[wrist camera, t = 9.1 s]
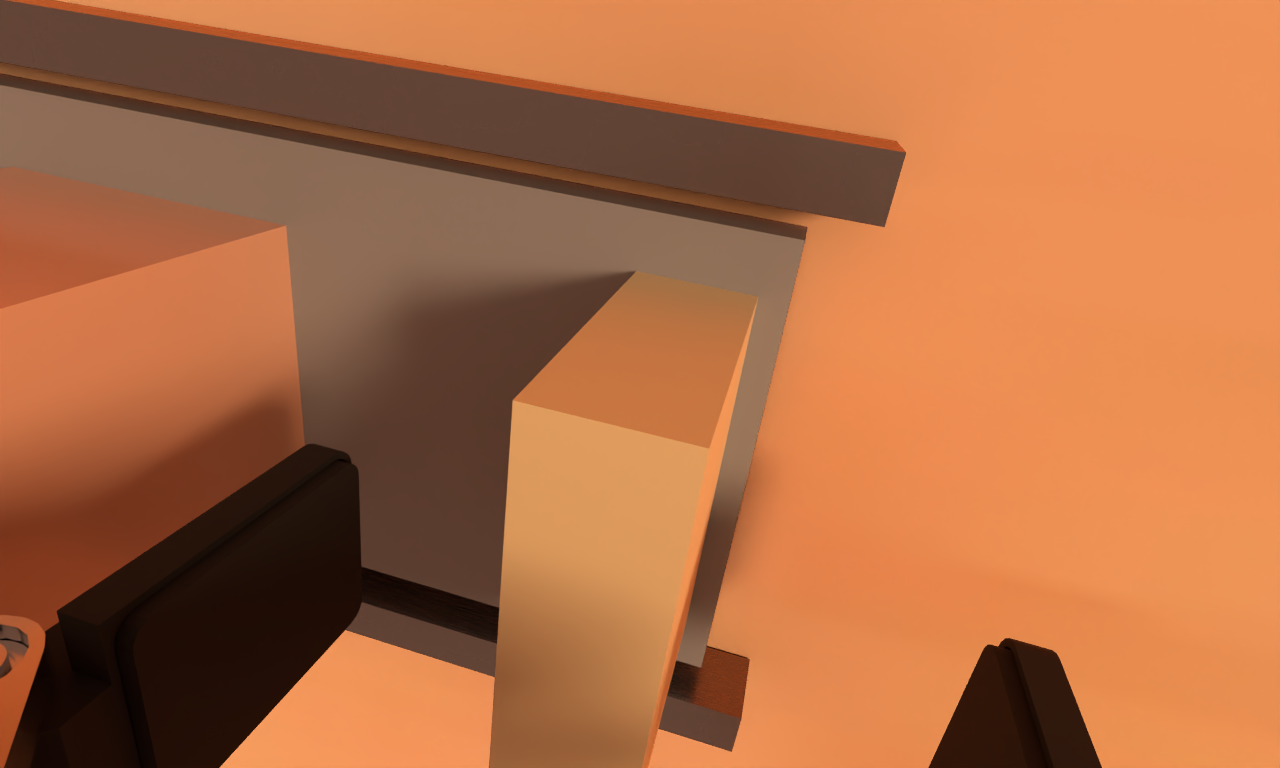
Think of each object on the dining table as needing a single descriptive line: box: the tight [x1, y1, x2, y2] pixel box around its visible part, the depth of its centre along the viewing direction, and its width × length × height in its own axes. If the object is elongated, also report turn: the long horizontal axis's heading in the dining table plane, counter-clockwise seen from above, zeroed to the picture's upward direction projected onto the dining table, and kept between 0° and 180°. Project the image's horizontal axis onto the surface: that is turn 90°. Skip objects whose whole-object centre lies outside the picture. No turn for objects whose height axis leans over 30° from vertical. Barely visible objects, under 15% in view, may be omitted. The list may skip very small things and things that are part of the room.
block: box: [0, 167, 305, 632], centre depth 12 cm, size 6×6×6 cm
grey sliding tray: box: [0, 74, 807, 768], centre depth 12 cm, size 18×9×6 cm, turn 82°
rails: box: [0, 0, 906, 752], centre depth 15 cm, size 12×32×2 cm, turn 82°
